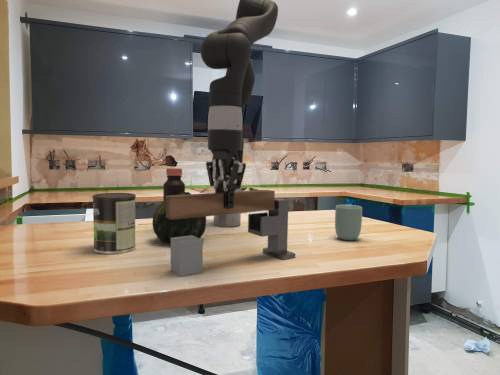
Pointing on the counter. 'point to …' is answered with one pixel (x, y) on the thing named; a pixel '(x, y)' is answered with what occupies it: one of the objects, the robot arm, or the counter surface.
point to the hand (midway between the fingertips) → (224, 206)
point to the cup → (348, 221)
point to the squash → (176, 224)
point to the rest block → (186, 255)
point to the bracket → (273, 229)
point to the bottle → (173, 182)
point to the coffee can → (114, 222)
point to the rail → (217, 204)
